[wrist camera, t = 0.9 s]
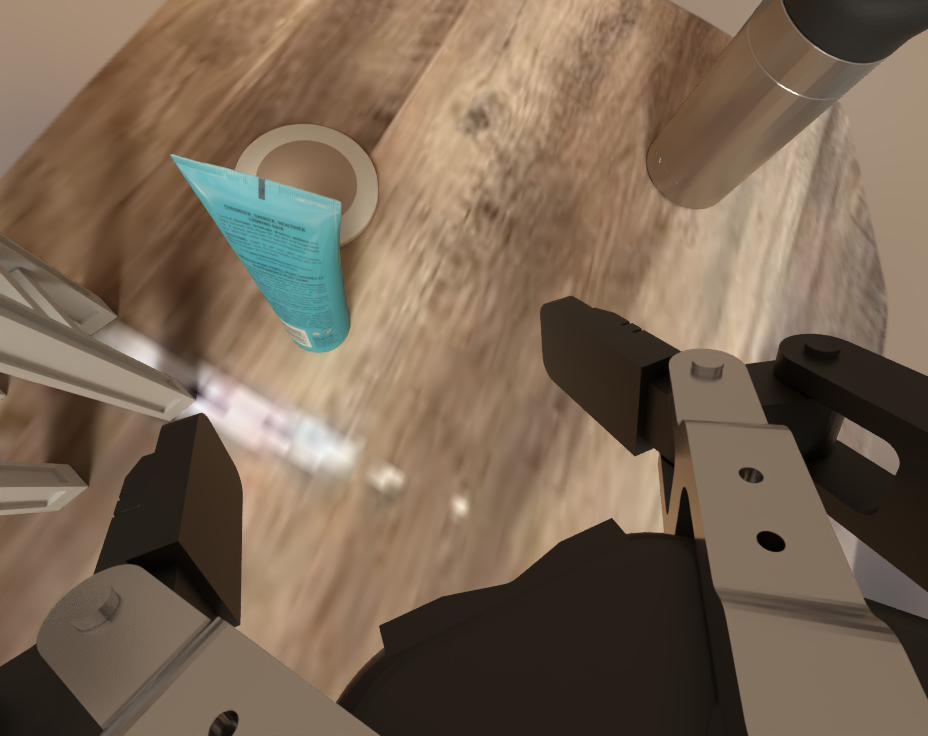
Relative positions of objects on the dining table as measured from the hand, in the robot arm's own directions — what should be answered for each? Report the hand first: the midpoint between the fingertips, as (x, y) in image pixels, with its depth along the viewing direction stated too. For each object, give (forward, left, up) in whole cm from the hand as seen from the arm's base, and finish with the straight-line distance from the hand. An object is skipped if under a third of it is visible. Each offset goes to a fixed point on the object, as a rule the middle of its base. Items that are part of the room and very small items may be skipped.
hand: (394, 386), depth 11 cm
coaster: (-1, -24, -27) cm, 37 cm away
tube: (+2, -12, -28) cm, 30 cm away
